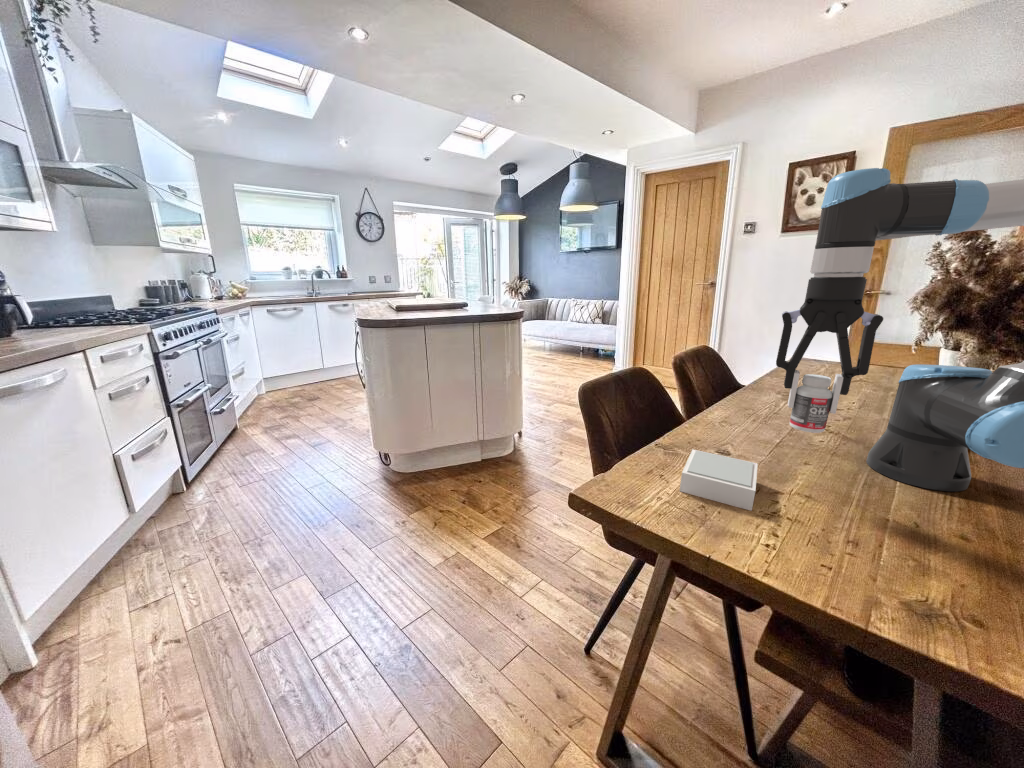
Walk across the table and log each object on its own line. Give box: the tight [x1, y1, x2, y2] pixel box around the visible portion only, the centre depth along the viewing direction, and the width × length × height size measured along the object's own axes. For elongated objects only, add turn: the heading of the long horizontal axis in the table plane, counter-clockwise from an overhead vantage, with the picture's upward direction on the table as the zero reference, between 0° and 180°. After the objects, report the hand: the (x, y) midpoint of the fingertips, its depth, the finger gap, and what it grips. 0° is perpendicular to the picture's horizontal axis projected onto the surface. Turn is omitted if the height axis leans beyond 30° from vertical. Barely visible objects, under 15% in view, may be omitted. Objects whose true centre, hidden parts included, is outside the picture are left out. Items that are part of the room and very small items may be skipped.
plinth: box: [679, 448, 759, 511], centre depth 76 cm, size 12×12×4 cm
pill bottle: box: [789, 373, 833, 434], centre depth 71 cm, size 5×5×10 cm
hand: (810, 408), depth 71 cm, fingers closed on pill bottle, 5 cm apart
